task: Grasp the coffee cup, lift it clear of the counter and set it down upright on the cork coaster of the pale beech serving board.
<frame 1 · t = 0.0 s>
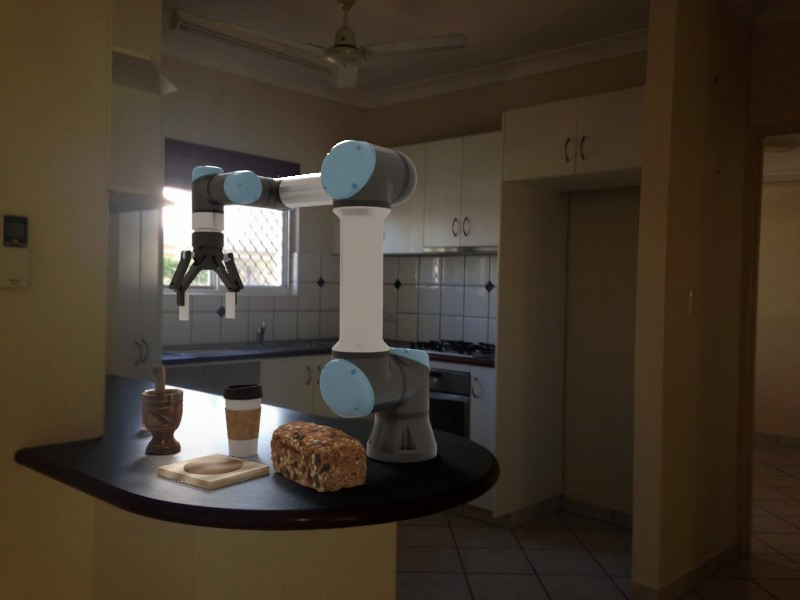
hand: (207, 319, 168), 28 cm above the table, fingers open, 13 cm apart
pill bottle: (153, 429, 174), on the table
bread: (317, 480, 131), on the table
board: (213, 474, 133), on the table
coffee cup: (243, 455, 149), on the table
mortar and pestle: (164, 453, 149), on the table
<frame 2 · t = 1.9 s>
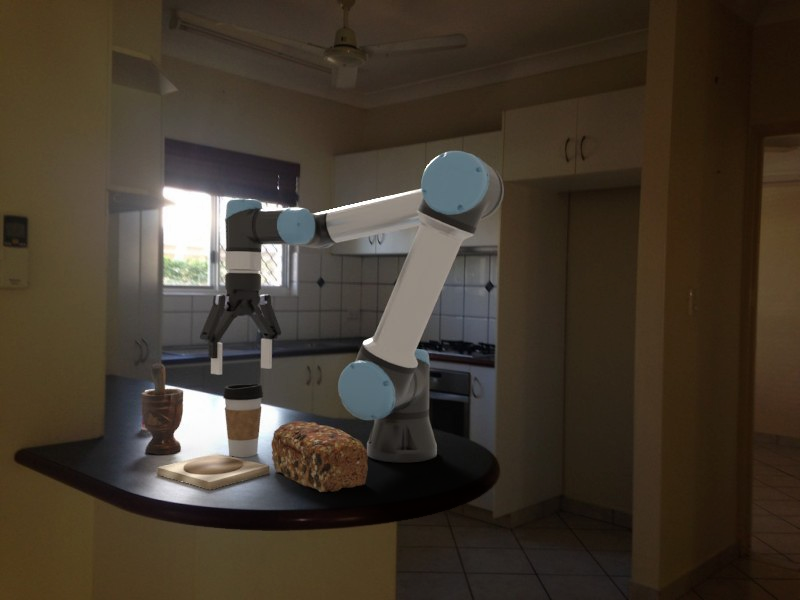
hand: (242, 371, 149), 18 cm above the table, fingers open, 13 cm apart
nothing on the table moved.
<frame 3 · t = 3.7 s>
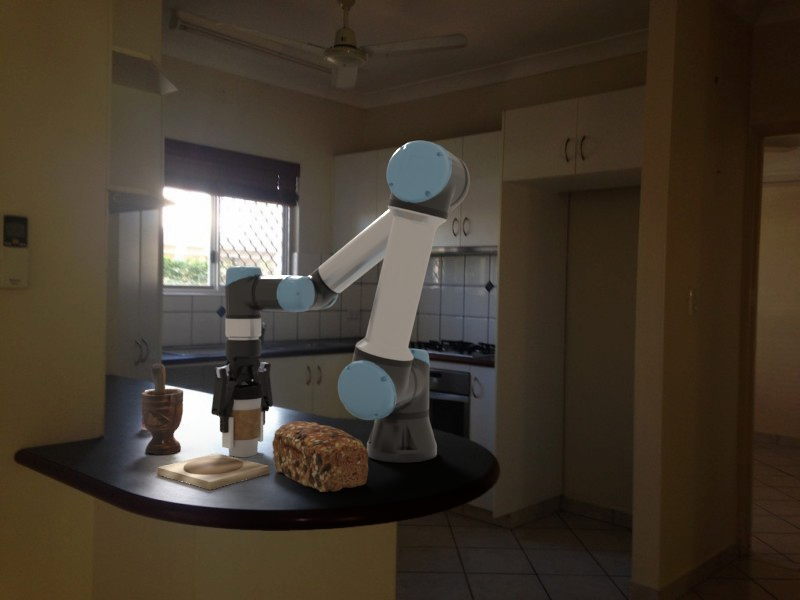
hand: (243, 443, 149), 2 cm above the table, fingers closed on coffee cup, 7 cm apart
coffee cup: (243, 454, 149), on the table, touching gripper
everything else where it was.
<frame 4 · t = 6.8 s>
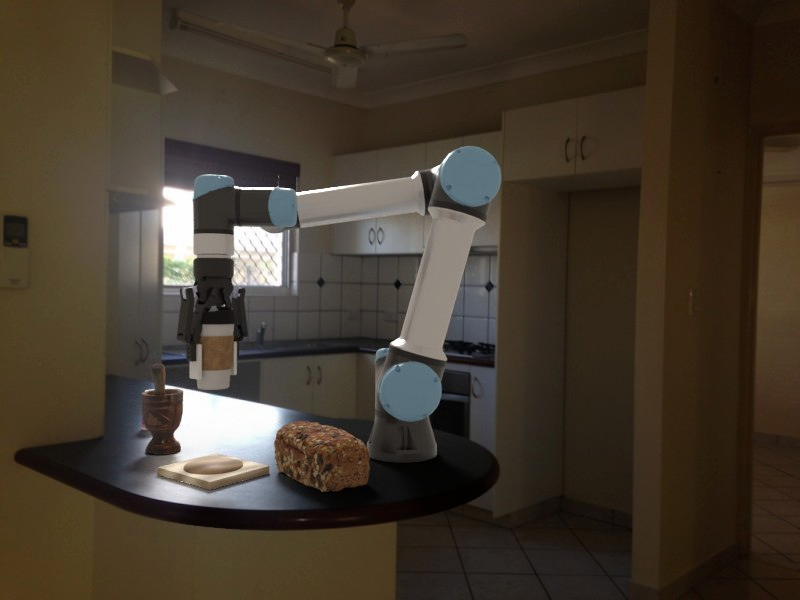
hand: (213, 376, 133), 19 cm above the table, fingers closed on coffee cup, 7 cm apart
coffee cup: (213, 388, 133), point 17 cm above the table, touching gripper
everything else where it was.
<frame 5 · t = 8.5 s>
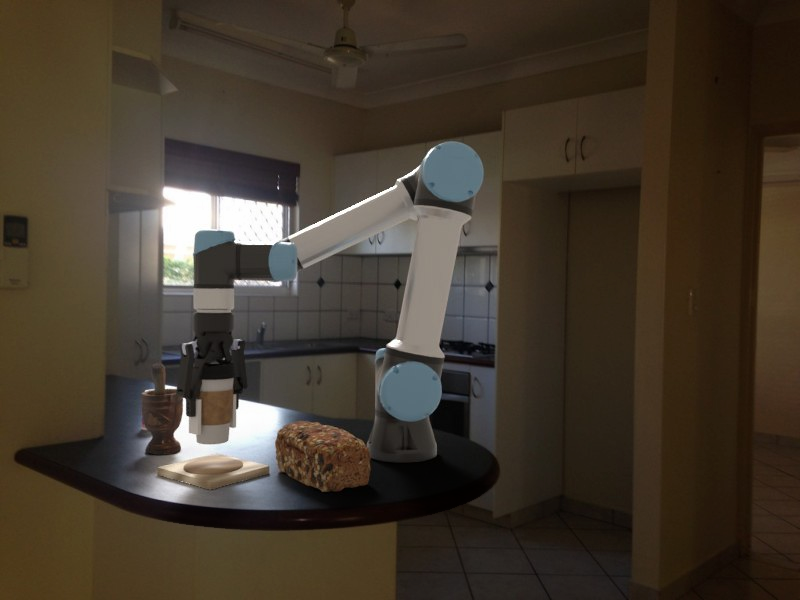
hand: (212, 429, 133), 9 cm above the table, fingers closed on coffee cup, 7 cm apart
coffee cup: (212, 442, 133), point 6 cm above the table, touching gripper
everything else where it was.
when the fingers open (5 cm above the table, at t = 9.7 s): coffee cup drops 1 cm, resting on board.
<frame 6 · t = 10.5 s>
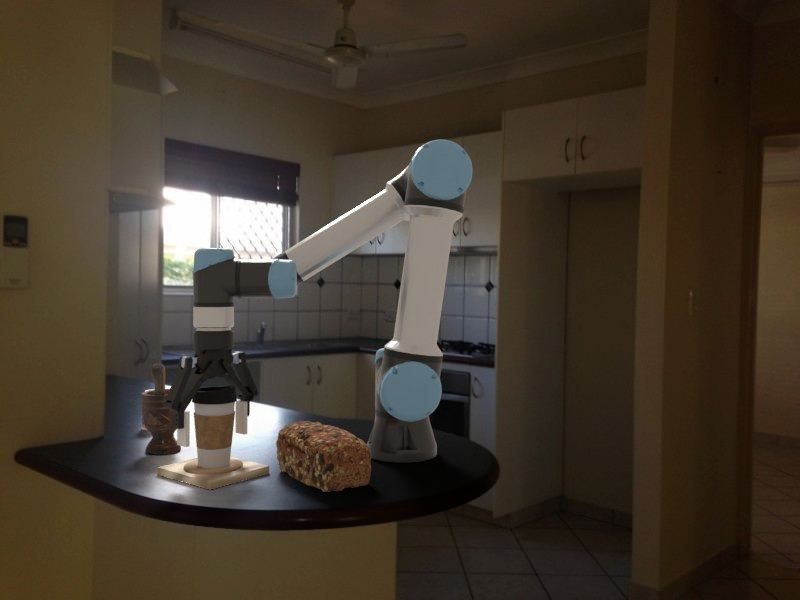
hand: (213, 439, 133), 7 cm above the table, fingers open, 13 cm apart
coffee cup: (214, 465, 133), point 2 cm above the table, touching board
everything else where it was.
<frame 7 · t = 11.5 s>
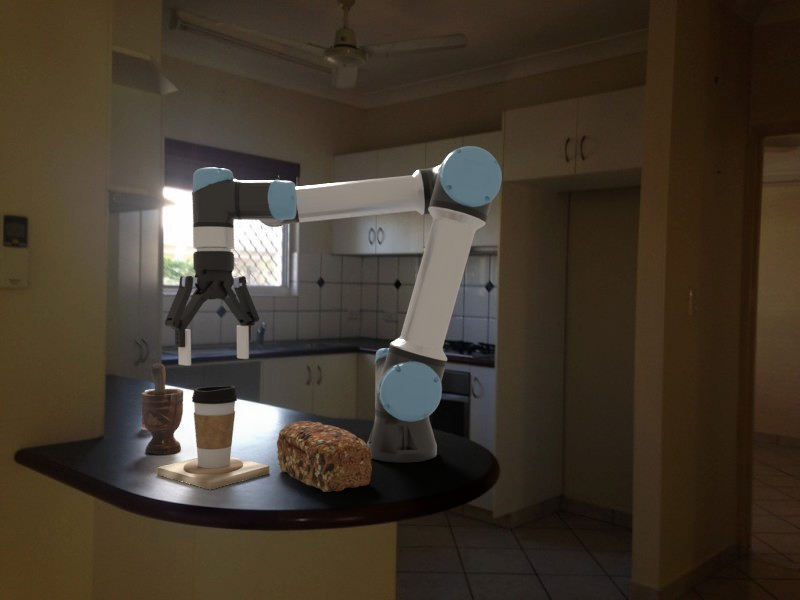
hand: (215, 361, 132), 22 cm above the table, fingers open, 13 cm apart
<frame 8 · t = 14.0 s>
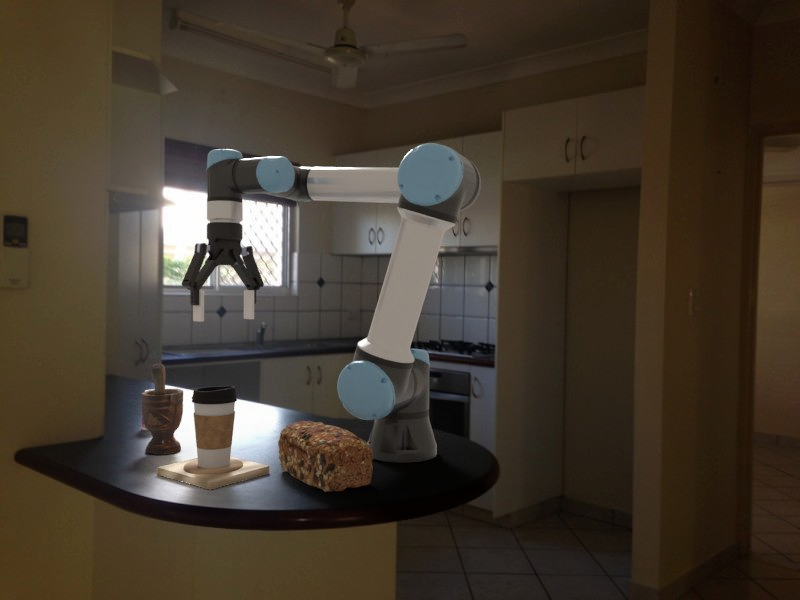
hand: (224, 320, 150), 29 cm above the table, fingers open, 13 cm apart
at the end: coffee cup inside the target area on the board (0.2 cm from its centre), point 1.6 cm above the board's base; coffee cup tilted 0°; the gripper is holding nothing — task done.
